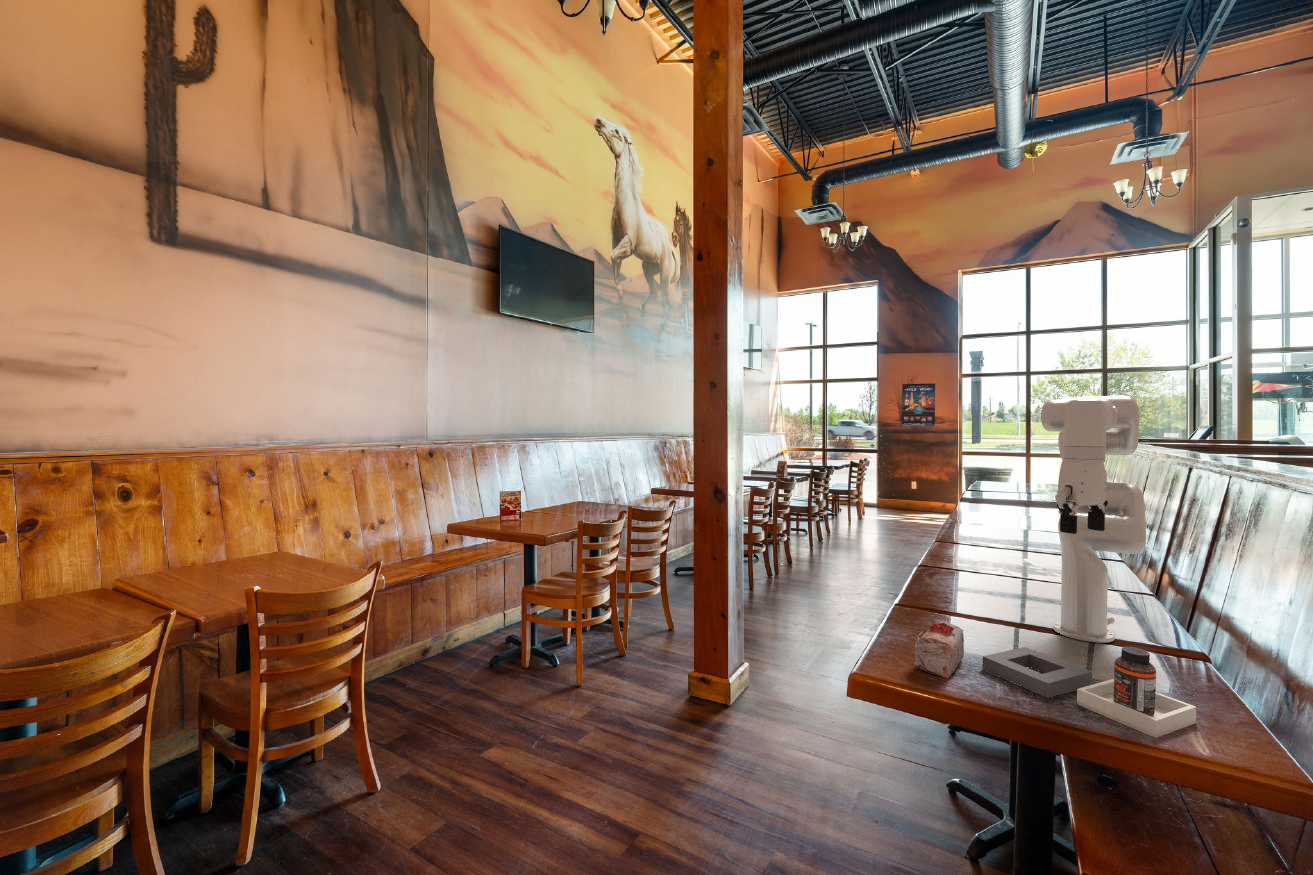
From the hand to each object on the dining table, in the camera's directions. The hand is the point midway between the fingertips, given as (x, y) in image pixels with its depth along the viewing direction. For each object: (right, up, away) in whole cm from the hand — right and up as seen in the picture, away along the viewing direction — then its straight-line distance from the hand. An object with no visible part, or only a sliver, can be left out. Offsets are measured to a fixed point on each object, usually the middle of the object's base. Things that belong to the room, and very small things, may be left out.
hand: (1082, 531), depth 125 cm
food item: (-32, -31, 0) cm, 44 cm away
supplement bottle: (-6, -30, -20) cm, 37 cm away
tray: (-5, -31, -20) cm, 37 cm away
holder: (-14, -30, -5) cm, 34 cm away
